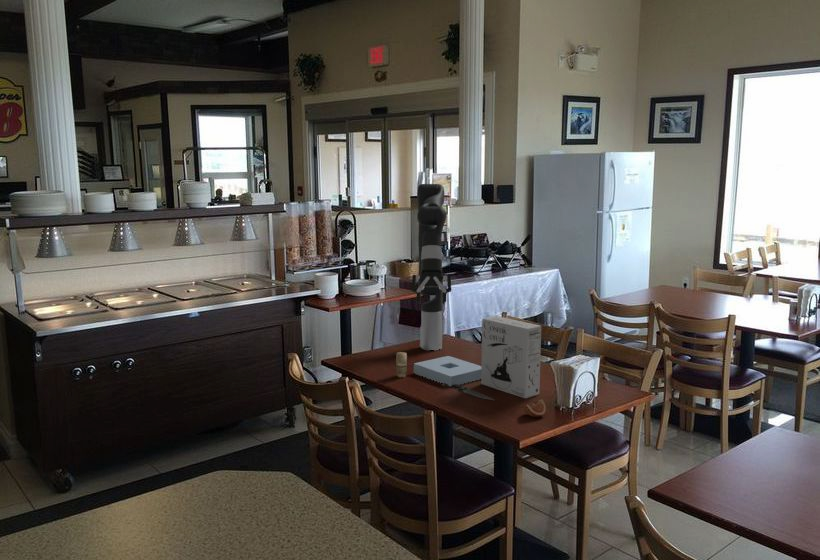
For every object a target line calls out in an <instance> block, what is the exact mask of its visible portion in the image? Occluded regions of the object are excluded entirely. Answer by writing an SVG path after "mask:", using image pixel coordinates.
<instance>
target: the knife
mask: <svg viewBox="0 0 820 560" xmlns="http://www.w3.org/2000/svg"><path fill="white" fill-rule="evenodd" d="M442 385H443V386H442V387H445V386H444V385H447V384H446V383H444V384H442ZM446 387H449V385H447V386H446ZM453 387H455V388H454V389H456V388H458V389H457V391H459V392H463V393H465V394H468V395H471V396H473V397H476V398H480V399H484V400H490V401H495V399H493V398H491V397H489V396H487V395H485V394H483V393H480V392H478V391H475V390H472V389H470V388H468V387H467V386H466V387H465V386H462V385H456V384H455V385H452V386H451V387H450V388H453Z"/></svg>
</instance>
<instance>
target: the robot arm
mask: <svg viewBox="0 0 820 560" xmlns="http://www.w3.org/2000/svg"><path fill="white" fill-rule="evenodd" d="M416 195H417V196H416V199H417V214H416V216H417V217H416V219H417V222H418V234H417V235H418V238H417V239H418V240H417V241H418V242H417V243H418V244H417V245H418V275H417V274H413V275H412V278H411V292H412V293H415V294H416V303H418V305H421V306H420V307H421V309H420V312H421V314H420V315H421V323H420V327H419V347H420V348H421V349H422V350H424V351H430V350H434V351H440V350H442V349H443V305H445V303H447V294H448V293H451V292H452V277H451V274H447V275H444V274H443V251H442V236H443V235H442V234H443V229H444V225H445V222H446V220H447V212H446V209H445V208H444V207H443V205H444V202H445V189H444V186H443V185H442V184H441V183H440V184H439V183H420V184H419V185H417V193H416ZM444 280H445V282H446V283H447V288H445V286H444ZM416 285H417V288H416ZM421 296H434V298H432V299H431V300H428V301H426V302H423V303H422V304H421V300H422V297H421ZM439 349H440V350H439Z"/></svg>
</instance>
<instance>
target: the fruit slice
mask: <svg viewBox="0 0 820 560" xmlns="http://www.w3.org/2000/svg"><path fill="white" fill-rule="evenodd" d="M521 410H523V412H524V413H525V414H526V415H528V416H530V417H533V418H539V417H541V416H543V415H544V414H546V411H547V406H546V403H545V400H544V399H542V398H541V399H539V400H534V401H532V402H530V403H528V404H526V405H525V404H524V406H523V407H521Z"/></svg>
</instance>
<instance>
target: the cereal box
mask: <svg viewBox="0 0 820 560" xmlns="http://www.w3.org/2000/svg"><path fill="white" fill-rule="evenodd" d="M541 342H542V326H541V325H539V324H535V323H530V322H526V321H520V320H516V319H513V318H507V317H503V316H498V315H494V316H490V317H489V316H488V317H485V318H484V317H483V318H482V320H481V365H480V366H481V380H480V381H481V382H480V383H481V385H483V386H486V387H489V388H492V389H495V390H497V391H502V392H504V393H507V394H511V395H512V396H516V397H520V398H522V399H529V398H532V397H535V396H538V395H540V388H541V387H540V386H541V385H540V383H541V382H540V381H541V380H540V379H541V353H542V351H541V350H542V349H541V345H542V343H541Z"/></svg>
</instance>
